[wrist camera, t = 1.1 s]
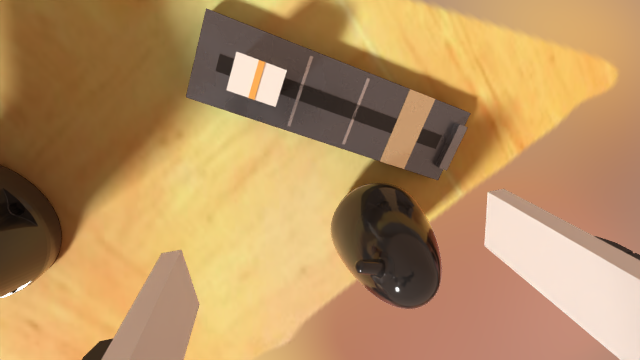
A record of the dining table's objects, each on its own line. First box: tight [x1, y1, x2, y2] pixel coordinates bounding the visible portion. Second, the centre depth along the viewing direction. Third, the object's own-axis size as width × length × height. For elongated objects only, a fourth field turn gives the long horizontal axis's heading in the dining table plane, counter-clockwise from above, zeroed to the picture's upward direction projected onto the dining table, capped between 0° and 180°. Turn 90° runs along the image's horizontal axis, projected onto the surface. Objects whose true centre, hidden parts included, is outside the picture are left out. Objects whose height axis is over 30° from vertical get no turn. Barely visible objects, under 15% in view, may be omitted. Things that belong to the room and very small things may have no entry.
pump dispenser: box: [331, 183, 442, 309], centre depth 32 cm, size 10×10×15 cm
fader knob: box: [227, 52, 287, 107], centre depth 28 cm, size 4×3×6 cm
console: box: [186, 9, 470, 180], centre depth 33 cm, size 28×8×3 cm, turn 69°
